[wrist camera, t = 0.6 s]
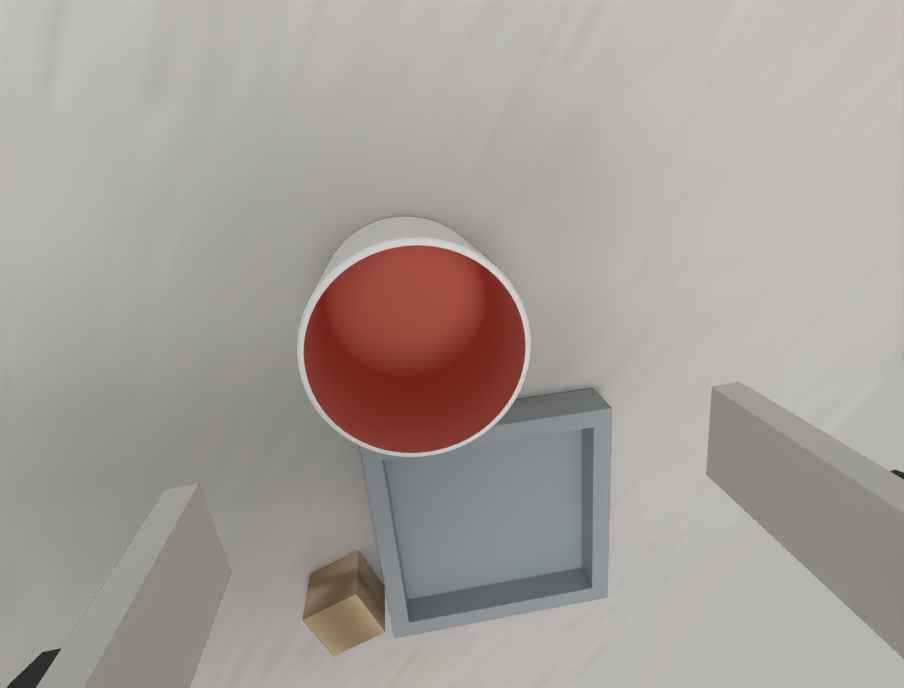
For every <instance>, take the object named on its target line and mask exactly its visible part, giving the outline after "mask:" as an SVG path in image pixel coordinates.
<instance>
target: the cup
mask: <svg viewBox="0 0 904 688" xmlns="http://www.w3.org/2000/svg"><path fill="white" fill-rule="evenodd" d="M530 355H531V333H530V325H529V321H528V317H527V313H526V310H525V308H524V305H523V303H522V301H521V298H520V297H519V295H518V293H517V291H516V289H515V288H514V287H513V285H512V284H511V282H510V281H509V280H508V278H507V277H506V276H505V275H504V274H503V273H502V272H501V271H500V270H499V269H498V268H497V267H496V266H495V265H494V264H493V263H492V262H490V261H489V260H488V259H487V258H486V257H485V256H483V255H482V254H481V253H480V252H479V251H478V250H476V249H475V248H474V247H473V246H472V245H471V244H470V243H468V242H467V241H466V240H465V239H464V238H463V237H461V236H460V235H459V234H457V233H456V232H455V231H453V230H452V229H450V228H448V227H446V226H444V225H442V224H440V223H437V222H435V221H432V220H428V219H424V218H418V217H393V218H387V219H383V220H380V221H377V222H374V223H371V224H369V225H367V226H365V227H363V228H362V229H360V230H358V231H357V232H355V233H354V234H353V235H351V236H350V237H349V238H348V239H347V240H345V241H344V243H343V244H342V245H341V246H340V247H339V248H338V249H337V251H336V252H335V253H334V255H333V256H332V258H331V260H330V261H329V263H328V265H327V267H326V269H325V271H324V273H323V275H322V276H321V278H320V280H319V282H318V284H317V286H316V288H315V290H314V292H313V294H312V296H311V297H310V299H309V301H308V303H307V305H306V308H305V310H304V313H303V315H302V318H301V322H300V326H299V330H298V337H297V363H298V368H299V374H300V377H301V380H302V384H303V387H304V389H305V391H306V393H307V395H308V398H309V399H310V401H311V403H312V404H313V406H314V408H315V409H316V410H317V412H318V413H319V414H320V415H321V417H322V418H323V419H324V420H325V421H326V422H327V423H328V424H329V425H330V426H331V427H332V428H333V429H334V430H336V431H337V432H338V433H339V434H341V435H342V436H343V437H345V438H347V439H348V440H350V441H351V442H353V443H355V444H357V445H359V446H361V447H364V448H366V449H369V450H372V451H375V452H378V453H382V454H386V455H392V456H400V457H422V456H430V455H436V454H440V453H444V452H448V451H451V450H453V449H456V448H459V447H461V446H463V445H465V444H468V443H469V442H471V441H473V440H475V439H476V438H478V437H479V436H481V435H483V434H484V433H485V432H487V431H488V430H489V429H490V428H492V427H493V426H494V425H495V424H496V423H497V422H498V421H499V420H500V419H501V418H502V417H503V416H504V415H505V413H506V412H507V411H508V410H509V408H510V407H511V405H512V404H513V403H514V401H515V399H516V398H517V396H518V394H519V392H520V390H521V388H522V386H523V383H524V381H525V378H526V375H527V371H528V366H529V362H530Z"/></svg>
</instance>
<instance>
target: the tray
mask: <svg viewBox="0 0 904 688" xmlns="http://www.w3.org/2000/svg"><path fill="white" fill-rule="evenodd" d="M611 431H612V407H611V406H610V405H609V404H608V403H607V402H606V401H605V400H604V399H603V398H602V397H601V396H600V395H599V394H598V393H597V392H596V391H595V390H594V389H593V388H591V389H585V390H578V391H571V392H564V393H558V394H551V395H544V396H537V397H531V398H524V399H517V400H515V401H514V403H513V404H512V405H511V407H510V408H509V410H508V411H507V412H506V413H505V415H504V416H503V417H502V418H501V419H500V420H499V421H498V422H497V423H496V424H495V425H494V426H493V427H492V428H490V429H489V430H488V431H487V432H485V433H484V434H483V435H481V436H479V437H478V438H476V439H475V440H473V441H471V442H469V443H468V444H465V445H463V446H461V447H459V448H456V449H453V450H451V451H448V452H444V453H440V454H436V455H430V456H422V457H400V456H392V455H386V454H382V453H378V452H375V451H372V450H369V449H366V448H364V447H361V446H359V448H360V453H361V459H362V464H363V470H364V475H365V480H366V486H367V491H368V497H369V502H370V508H371V513H372V519H373V524H374V530H375V535H376V541H377V546H378V551H379V557H380V562H381V568H382V573H383V579H384V584H385V590H386V595H387V601H388V606H389V611H390V617H391V622H392V628H393V633H394V638H398V637H403V636H409V635H414V634H419V633H424V632H430V631H435V630H440V629H445V628H450V627H456V626H461V625H466V624H471V623H477V622H482V621H487V620H492V619H497V618H503V617H508V616H513V615H518V614H524V613H529V612H534V611H539V610H544V609H550V608H555V607H560V606H565V605H571V604H576V603H581V602H586V601H591V600H597V599H602V598H607V595H608V554H609V513H610V472H611Z"/></svg>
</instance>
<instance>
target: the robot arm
mask: <svg viewBox="0 0 904 688" xmlns="http://www.w3.org/2000/svg"><path fill="white" fill-rule="evenodd" d="M706 475H707V476H709V477H710V478H711V479H712V480H713V481H714V482H715V483H716V484H717V485H718V486H719V487H720V488H721V489H722V490H723V491H725V492H726V493H727V494H728V495H729V496H730V497H731V498H732V499H733V500H734V501H735V502H736V503H737V504H738V505H740V506H741V507H742V508H743V509H744V510H745V511H746V512H747V513H748V514H749V515H750V516H751V517H752V518H753V519H755V520H756V521H757V522H758V523H759V524H760V525H761V526H762V527H763V528H764V529H765V530H766V531H767V532H768V533H769V534H771V535H772V536H773V537H774V538H775V539H776V540H777V541H778V542H779V543H780V544H781V545H782V546H784V548H786V549H787V550H788V551H789V552H790V553H791V554H792V555H793V556H794V557H795V558H796V559H797V560H798V561H799V562H801V563H802V564H803V565H804V566H805V567H806V568H807V569H808V570H809V571H810V572H811V573H812V574H813V575H814V576H815V577H817V578H818V579H819V580H820V581H821V582H822V583H823V584H824V585H825V586H826V587H827V588H828V589H829V590H830V591H832V592H833V593H834V594H835V595H836V596H837V597H838V598H839V599H840V600H841V601H842V602H843V603H844V604H846V605H847V606H848V607H849V608H850V609H851V610H852V611H853V612H854V613H855V614H856V615H857V616H858V617H859V618H861V619H862V620H863V621H864V622H865V623H866V624H867V625H868V626H869V627H870V628H871V629H872V630H873V631H874V632H875V633H876V634H878V635H879V636H880V637H881V638H882V639H883V640H884V641H885V642H886V643H887V644H888V645H889V646H890V647H891V648H893V649H894V650H895V651H896V652H897V653H898V654H899V655H900V656H901V657H902V658H903V659H904V473H903V472H900V471H897V470H893V471H888V470H887V469H885V468H883V467H882V466H880V465H878V464H877V463H875V462H873V461H872V460H870V459H868V458H866V457H865V456H863V455H862V454H860V453H858V452H857V451H855V450H853V449H851V448H850V447H848V446H846V445H845V444H843V443H841V442H840V441H838V440H836V439H835V438H833V437H831V436H830V435H828V434H826V433H825V432H823V431H821V430H820V429H818V428H816V427H814V426H813V425H811V424H809V423H808V422H806V421H804V420H803V419H801V418H799V417H798V416H796V415H794V414H793V413H791V412H789V411H788V410H786V409H784V408H782V407H781V406H779V405H777V404H776V403H774V402H772V401H771V400H769V399H767V398H766V397H764V396H762V395H761V394H759V393H757V392H756V391H754V390H752V389H751V388H749V387H747V386H745V385H744V384H742V383H740V382H735V383H730V384H724V385H719V386H714V387H712V395H711V410H710V425H709V440H708V455H707V470H706ZM230 574H231V569H230V567H229V564H228V561H227V559H226V556H225V553H224V551H223V548H222V545H221V542H220V540H219V537H218V534H217V532H216V529H215V526H214V524H213V521H212V518H211V516H210V513H209V510H208V508H207V505H206V502H205V499H204V497H203V494H202V491H201V489H200V486H199V483H198V484H193V485H188V486H182V487H177V488H172V489H166V490H165V491H164V493H163V494H162V496H161V497H160V499H159V500H158V502H157V503H156V505H155V506H154V508H153V509H152V511H151V512H150V514H149V516H148V517H147V519H146V520H145V522H144V523H143V525H142V526H141V528H140V529H139V531H138V532H137V534H136V535H135V537H134V538H133V540H132V542H131V543H130V545H129V546H128V548H127V549H126V551H125V552H124V554H123V555H122V557H121V558H120V560H119V561H118V563H117V565H116V566H115V568H114V569H113V571H112V572H111V574H110V575H109V577H108V578H107V580H106V581H105V583H104V584H103V586H102V587H101V589H100V591H99V592H98V594H97V595H96V597H95V598H94V600H93V601H92V603H91V604H90V606H89V607H88V609H87V610H86V612H85V614H84V615H83V617H82V618H81V620H80V621H79V623H78V624H77V626H76V627H75V629H74V630H73V632H72V633H71V635H70V636H69V638H68V640H67V641H66V643H65V644H64V646H63V647H62V648H61V649H56V650H51V651H47V652H42V653H41V654H40V655H39V656H38V657H37V658H36V659H35V660H34V661H33V662H32V663H31V664H30V665H29V666H28V667H27V668H26V669H25V670H24V671H23V672H21V673H20V674H19V675H18V676H17V677H16V678H15V679H14V680H13V681H12V682H11V683H10V684H9V686H8V687H7V688H190V686H191V683H192V680H193V677H194V675H195V672H196V669H197V666H198V663H199V661H200V658H201V655H202V652H203V649H204V647H205V644H206V641H207V638H208V635H209V633H210V630H211V627H212V624H213V621H214V619H215V616H216V613H217V610H218V608H219V605H220V602H221V599H222V596H223V594H224V591H225V588H226V585H227V582H228V580H229V577H230Z"/></svg>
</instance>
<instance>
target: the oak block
mask: <svg viewBox="0 0 904 688" xmlns="http://www.w3.org/2000/svg"><path fill="white" fill-rule="evenodd" d="M302 620H303V621H304V623H305V624H306V625H307V626H308V627H309V629H310V630H311V631H312V632H313V633H314V634H315V636H316V637H317V638H318V639H319V640H320V641H321V643H322V644H323V645H324V646H325V647H326V649H327V650H328V651H329V652H330V653H331V654H332V656H335V655H337V654H340V653H342V652H344V651H346V650H348V649H350V648H352V647H354V646H356V645H358V644H360V643H363V642H365V641H367V640H369V639H371V638H373V637H375V636H377V635H379V634H381V633H383V632H385V593H384V585H383V584H382V582H381V581H380V580H379V578H378V577H377V576H376V574H375V573H374V571H373V570H372V569H371V567H370V566H369V565H368V563H367V562H366V560H365V559H364V558H363V556H362V555H361V553H360V552H359V551H357V552H355V553H353V554H351V555H349V556H347V557H345V558H343V559H341V560H339V561H337V562H335V563H333V564H330V565H328V566H326V567H324V568H322V569H320V570H318V571H316V572H314V573H312V574H310V578H309V584H308V590H307V596H306V602H305V608H304V613H303V619H302Z"/></svg>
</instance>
